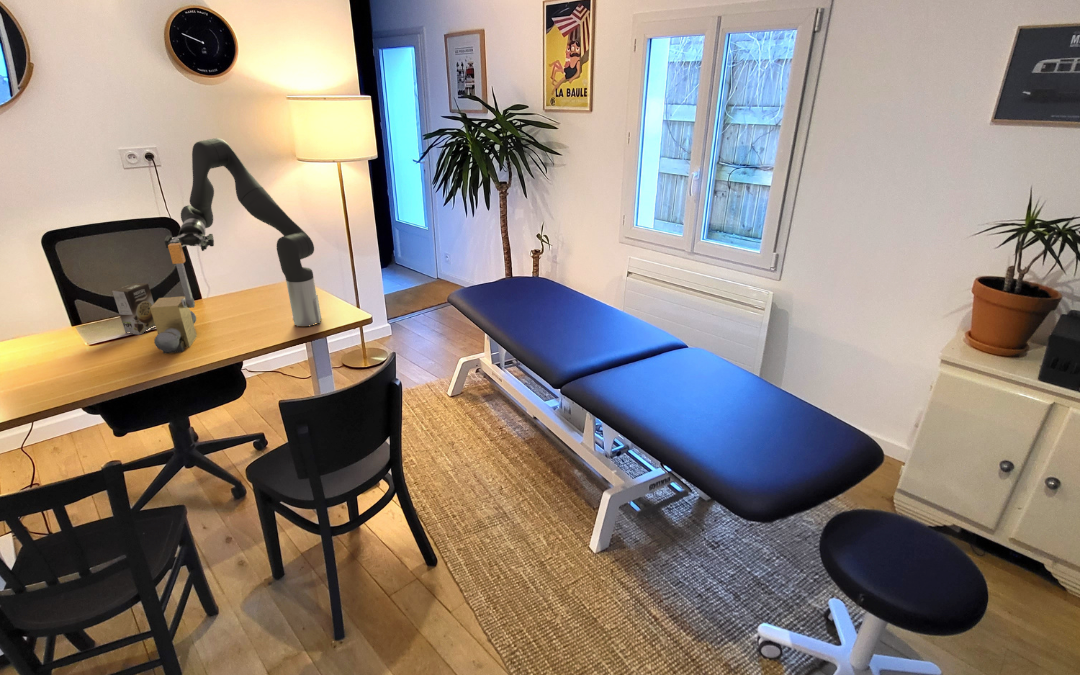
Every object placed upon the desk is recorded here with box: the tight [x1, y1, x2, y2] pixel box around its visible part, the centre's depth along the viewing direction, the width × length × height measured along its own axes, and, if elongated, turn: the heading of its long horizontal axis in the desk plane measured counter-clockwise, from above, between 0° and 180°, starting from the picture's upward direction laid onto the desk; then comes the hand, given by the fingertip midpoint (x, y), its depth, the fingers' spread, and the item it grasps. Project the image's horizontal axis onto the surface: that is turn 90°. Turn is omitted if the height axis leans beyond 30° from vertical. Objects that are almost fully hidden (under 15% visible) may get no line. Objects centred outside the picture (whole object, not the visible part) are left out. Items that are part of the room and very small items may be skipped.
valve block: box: [150, 295, 198, 355], centre depth 185 cm, size 9×21×16 cm, turn 16°
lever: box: [167, 242, 196, 309], centre depth 180 cm, size 3×3×22 cm
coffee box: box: [111, 282, 155, 336], centre depth 195 cm, size 9×6×16 cm
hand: (187, 248), depth 185 cm, fingers open, 8 cm apart
